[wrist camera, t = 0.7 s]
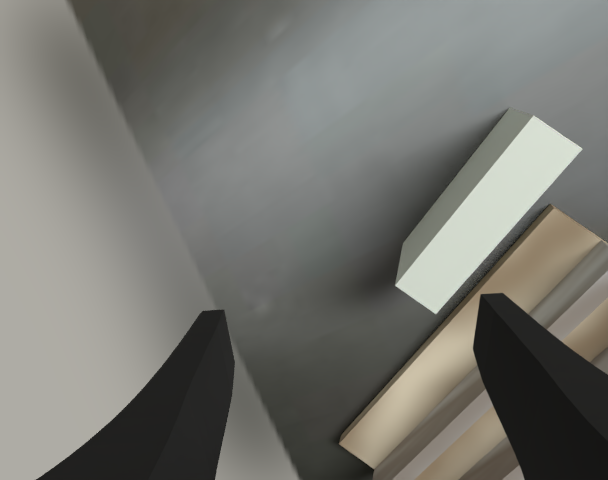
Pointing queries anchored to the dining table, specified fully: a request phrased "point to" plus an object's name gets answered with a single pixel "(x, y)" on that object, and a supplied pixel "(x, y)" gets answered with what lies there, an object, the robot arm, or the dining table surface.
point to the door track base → (463, 367)
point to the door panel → (481, 206)
